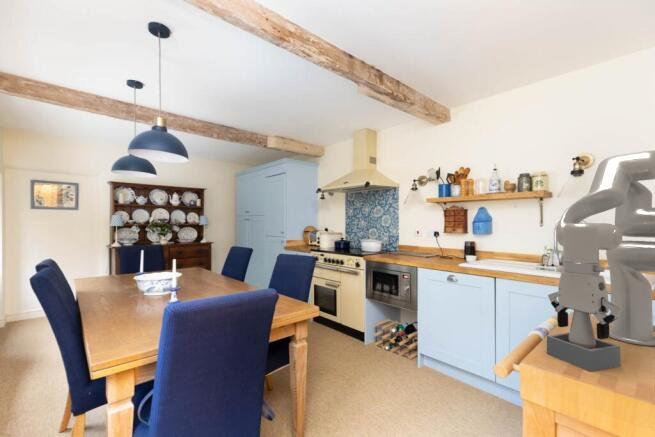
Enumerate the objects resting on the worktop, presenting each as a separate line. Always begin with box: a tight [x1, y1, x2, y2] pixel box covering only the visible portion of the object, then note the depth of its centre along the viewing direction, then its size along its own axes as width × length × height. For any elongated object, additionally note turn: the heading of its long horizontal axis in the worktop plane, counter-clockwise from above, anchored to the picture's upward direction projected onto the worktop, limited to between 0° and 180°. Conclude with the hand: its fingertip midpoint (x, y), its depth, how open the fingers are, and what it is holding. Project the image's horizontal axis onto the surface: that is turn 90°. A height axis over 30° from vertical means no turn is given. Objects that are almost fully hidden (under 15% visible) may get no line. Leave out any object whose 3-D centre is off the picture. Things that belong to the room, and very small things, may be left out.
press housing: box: [546, 332, 621, 372], centre depth 82 cm, size 11×11×5 cm
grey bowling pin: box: [568, 310, 596, 350], centre depth 82 cm, size 6×6×13 cm
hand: (581, 332), depth 82 cm, fingers open, 9 cm apart
